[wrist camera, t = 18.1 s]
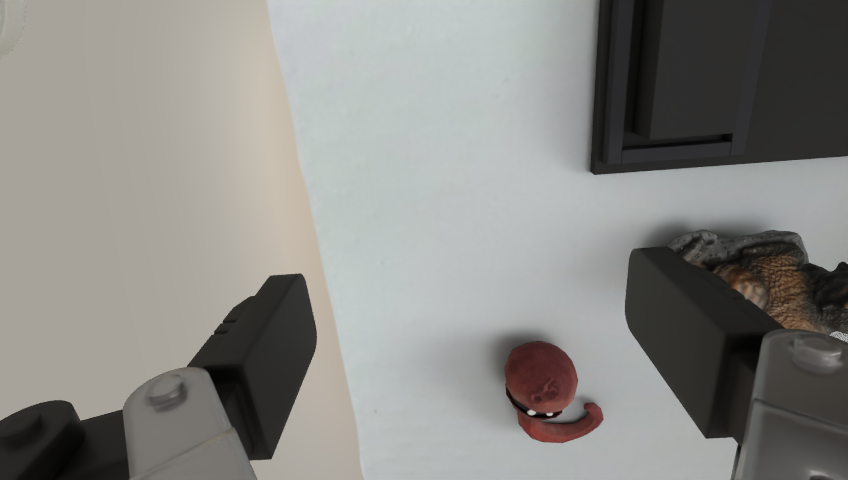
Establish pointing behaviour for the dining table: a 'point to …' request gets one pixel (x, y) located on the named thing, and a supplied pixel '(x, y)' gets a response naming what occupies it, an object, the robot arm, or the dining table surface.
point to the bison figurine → (774, 276)
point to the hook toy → (546, 392)
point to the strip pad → (691, 67)
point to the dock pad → (760, 100)
